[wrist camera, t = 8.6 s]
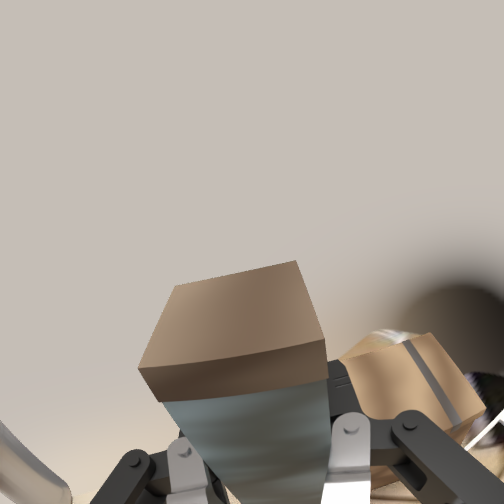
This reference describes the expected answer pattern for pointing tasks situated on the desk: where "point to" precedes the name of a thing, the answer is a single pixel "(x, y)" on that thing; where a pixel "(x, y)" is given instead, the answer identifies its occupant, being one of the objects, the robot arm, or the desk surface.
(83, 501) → the desk surface
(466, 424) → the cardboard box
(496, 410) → the desk surface
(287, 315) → the grey block with cap
